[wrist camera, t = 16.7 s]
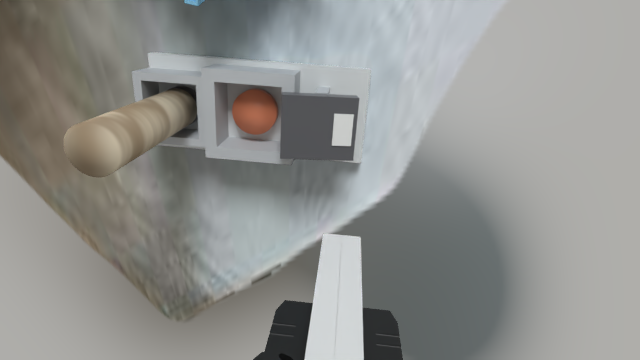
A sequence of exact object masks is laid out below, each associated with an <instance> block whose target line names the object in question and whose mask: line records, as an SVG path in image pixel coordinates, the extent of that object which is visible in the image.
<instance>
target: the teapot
mask: <svg viewBox="0 0 640 360" xmlns="http://www.w3.org/2000/svg"><path fill="white" fill-rule="evenodd" d="M204 1H205V0H184V3H186V4H190V5H195V6H199V5H200V4H201V3H203V2H204Z"/></svg>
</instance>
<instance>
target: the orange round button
mask: <svg viewBox="0 0 640 360" xmlns="http://www.w3.org/2000/svg"><path fill="white" fill-rule="evenodd" d="M232 115H233V119H234V121H235V123H236V124H237V126H238V127H239V128H240V129H241V130H243V131H244V132H246V133H249V134H253V135H259V134H263V133H265V132H267V131H268V130H269V129H270V128H271V127H272V126H273V125H274V124H275V122H276V120H277V118H278V105H277V103H276V101H275V99H274V98H273V96H272V95H271V94H270V93H268V92H267V91H265V90H262V89H257V88H254V89H249V90H247V91H245V92H243V93H242V94H240V95H239V96H238V97H237V98H236V99H235V101H234V103H233V107H232Z"/></svg>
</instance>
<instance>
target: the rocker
mask: <svg viewBox="0 0 640 360" xmlns="http://www.w3.org/2000/svg"><path fill="white" fill-rule="evenodd" d="M359 99H360V98H359V97H358V96H357V95H337V94H317V93H296V92H282V99H281V138H280V159H309V160H344V161H353V157H354V147H355V138H356V128H357V118H358V108H359Z"/></svg>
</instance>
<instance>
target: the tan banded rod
mask: <svg viewBox="0 0 640 360" xmlns="http://www.w3.org/2000/svg"><path fill="white" fill-rule="evenodd" d="M197 120H198V115H197V97H196V91H195V90H193V89H192V88H190V87H187V86H176V87H174V88H171V89H168V90H167V91H164V92H162V93H159V94H156V95H153V96H151V97H148V98H145V99H143V100H140V101H137V102H135V103H132V104H129V105H127V106H124V107H121V108H119V109H116V110H113V111H111V112H108V113H105V114H102V115H100V116H97V117H94V118H92V119H89V120H86V121H84V122H81V123H78V124H76V125H74V126H72V127H71V128H70V129H68V131H67V132H66V134H65V137H64V150H65V153H66V155H67V157H68V159H69V161H70V162H71V163H72V165H73V166H74V167H75V168H77V169H78V170H79V171H81V172H82V173H84V174H86V175H89V176H92V177H105V176H108V175H110V174H112V173H113V172H115V171H116V170H118V169H120V168H121V167H123V166H124V165H126V164H127V163H129V162H131V161H132V160H134V159H135V158H137V157H139V156H140V155H142V154H143V153H145V152H147V151H148V150H150V149H151V148H153V147H154V146H156V145H158V144H159V143H161V142H162V141H164V140H166V139H167V138H169V137H170V136H172V135H174V134H175V133H177V132H178V131H180V130H181V129H183V128H185V127H186V126H188V125H190V124H192V123H193V122H195V121H197Z"/></svg>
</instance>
